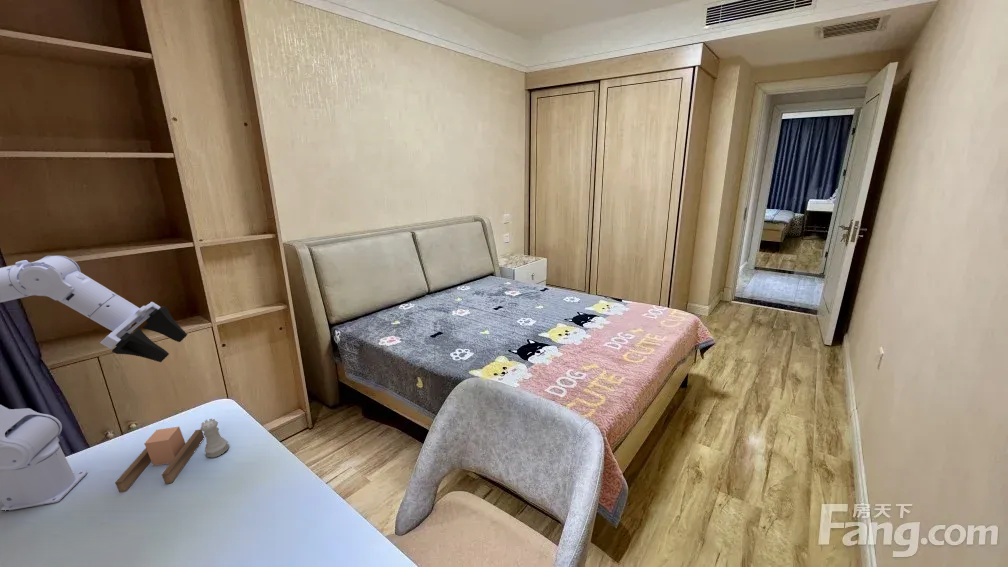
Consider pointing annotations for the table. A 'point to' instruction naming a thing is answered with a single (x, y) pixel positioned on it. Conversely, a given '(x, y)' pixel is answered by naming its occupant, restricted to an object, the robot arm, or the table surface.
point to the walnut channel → (170, 471)
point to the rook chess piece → (213, 439)
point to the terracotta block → (164, 445)
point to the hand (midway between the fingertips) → (174, 348)
